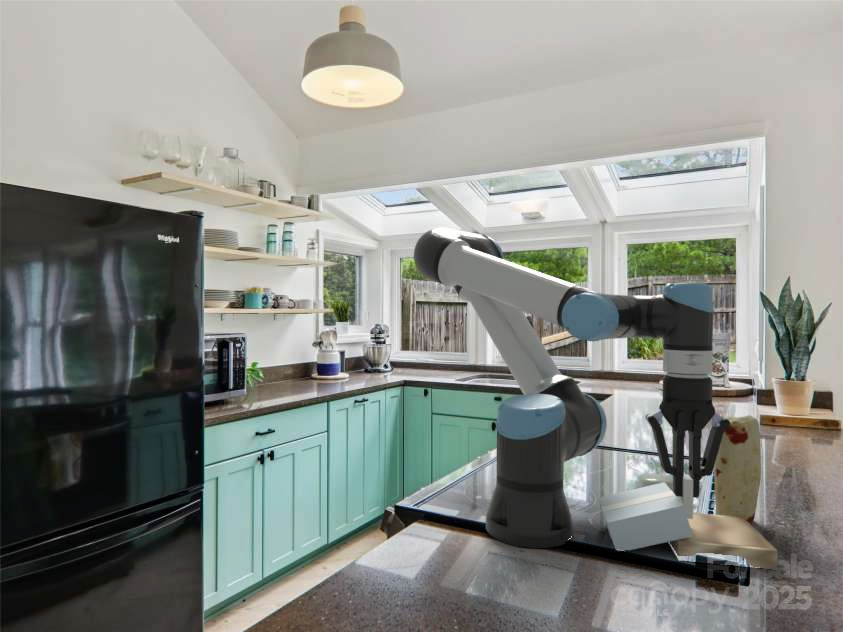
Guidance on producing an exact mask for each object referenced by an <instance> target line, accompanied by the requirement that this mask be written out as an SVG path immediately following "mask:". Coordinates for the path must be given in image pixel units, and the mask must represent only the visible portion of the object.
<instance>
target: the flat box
mask: <svg viewBox="0 0 843 632" xmlns="http://www.w3.org/2000/svg"><path fill="white" fill-rule="evenodd" d="M597 500H598V503H599V506H600V509H601V513H602V516H603V518H604V522H606V523H605V525H607V526H606V528H607V530H608V535H609V537H610V539H611V538H612V540H611V542H612V541H613V542H612V544H613V547H614V546H615V547H614V550H615V549H619V550H628V551H633V550H637V549H642V548H646V547H650V546H655V545H660V544H664V543H667V542H669V541H674V540H679V539H683V538H688V537H692V536H693V534H692V531H691V528H690V525H689V522H688V519H687V516H686V512H685V509H684V506H683V505H682V503H681V502H680V501H679V497H678V496H676V495H675V494H674V493H673V491H672V490H670V488H669V487H668V486H667V485H666V483H665V482H663V483H659V484H655V485H650V486H646V487H642V488H639V487H637V488H634V489H630V490H625V491H622V492H616V493H613V494H609V495H605V496H600V497H597Z"/></svg>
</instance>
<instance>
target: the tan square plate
mask: <svg viewBox="0 0 843 632" xmlns="http://www.w3.org/2000/svg"><path fill="white" fill-rule="evenodd" d="M688 522H689V525H690V528H691V531H692V534H693V536H692V537H688V538H683V539H679V540H674V541H669V542H670V544H671V545H672V547H673V548H674V550H675V551H676V553H677V555H678V556H685V557H686V556H693V555H695V554H696V553H714V554H722V555H733V556H740V557H742V558H745V559H746V560H747V562H748V563H749V564H750V565H751V566H753V567H758V568H759V567H760V568H765V569H764V570H767V569H774V570H773V571H778V550H777V549H776V547H774V546H773V545H772V544H771V543H770V542H769V540H767V539H766V538H765V537H764V536H763V535H762V534H761V533H760V532H759V531H758V530H757V529H756V528H755V527H754V526H752V524H751V523H748V522H747V521H746V520H745V519H744V518H743V517H737V516H724V515H717V514H712V513H711V514H708V513H697V512H695V513H694V512H693V519H688Z"/></svg>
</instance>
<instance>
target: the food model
mask: <svg viewBox="0 0 843 632" xmlns="http://www.w3.org/2000/svg"><path fill="white" fill-rule="evenodd" d="M724 418H726V419H728V420H729V421H730V425H729V426H728V428H727V429H726V430H725V432H724V433H723V436H722V440H721V443H720V447H719V451H718V454H717V458H716V461H715V465H714V469H713V475H714V477H713V480H714V502H715V503H714V504H715V515H724V516H737V517H743V518H744V519H745V520H746V521H747V522H748V523H749V524H751V523H753V522H754V520H755V515H756V511H757V506H758V498H759V492H760V485H761V476H762V463H761V462H762V460H761V459H762V456H761V452H762V451H761V432H760V429H761V428H760V423H759V421H758V419H757V418H756V417H755V416H752V415H745V416H741V417H740V416H739V417H731V416H726V417H725V416H724Z"/></svg>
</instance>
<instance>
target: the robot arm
mask: <svg viewBox="0 0 843 632" xmlns="http://www.w3.org/2000/svg"><path fill="white" fill-rule="evenodd" d="M413 260H414V264H415V267H416V269H417V271H418V272H419V273H420V274H421V275H422V276H423V277H424V278H425V279H427V280H429V281H433V282H435V283H439V284H441V285H443V286H445V287H449V288H452V287H453V288H454V290H455V292H456V293H457V296H458V297H459V299H460V300H462V301H463V302H469V303H470V304H471V306H472V308H473V310H474V311H475V312H476V315H477V316H478V318H479V320H480V321H481V323H482V325H483V327H484V329H485V330H486V332H487V334H488V335H489V337H490V338H491V340H492V342H493V344H494V346H495V348H496V349H497V350H498V352H499V354H500V356H501V358H502V359H503V361H504V362H505V365H506V367H507V368H508V370H509V372H510V373H511V376H512V377H513V379H514V380H515V382H516V384H517V386H518V387H519V389H520V390H521V392H522V394H519V395H513V396H509V397H508V398H505V399H504V400H503V401H501V402H500V403H499V405H498V409H497V419H496V421H495V426H496V482H495V483H496V484H495V488H494V491H493V493H492V496H491V500H490V502H489V505H488V509H487V511H486V515H485V529H486V532H487V533H488V534H489V535H490V536H491V537H493V538H495V540H498V541H500V542H502V543H505V544H508V545H512V546H516V547H522V548H530V549H546V548H547V549H548V548H555V547H560V546H563V545H565V544H566V543H565V542H566V541H567V540H568V539H569V538H571V536H572V535H573V536H574V520H573V516H572V514H571V511H570V507H569V503H568V501H567V497H566V494H565V490H564V472H565V471H564V468H565V465H564V464H565V462H567V461H570V460H572V459H574V458H577V457H583V456H586V455H588V453H590V452H591V451H593V450H595V449H596V448H597V447H598V446H599V445H600V444H601V443H602V442H603V440H604V438H605V436H606V432H607V426H608V423H607V415H606V413H605V410H604V408H603V406H602V405H601V403H600V402H599V401H598V400H597V399H596V398H595V397H593V396H591V395H589V394H587V393H585V392H583V391H582V390H581V389H580V387H579V385H578V384H577V381H575V379H574V378H573V377H572V376H568V375H564V374H562V373H561V371H560V369H559V368H558V366H557V365H556V363H555V362H554V360H553V358H552V357H551V355H550V354H549V352H548V350H547V349H546V347H545V345H544V343H543V342H542V341H541V339H540V337H539V336H538V334H537V333H536V331H535V330H534V328H533V326H532V324H531V322H530V321H529V320H528V318H527V316H526V315H525V313H527V314H530V315H531V316H534V317H537V318H539V319H542V320H544V321H547V322H549V323H552V324H554V325H557V326H559V327H561V328H564V329H565V330H566V331H567V333H568V335H571V336H572V337H573V338H575V339H578V340H581V341H588V342H599V341H603V340H612V339H614V340H615V339H631V338H632V339H633V338H634V339H635V338H636V339H657V340H659V339H662V343H663V344H662V371H663V372H664V373H666V374H665V375H664V376H663V377H662V400H661V403H660V404H659V407H658V408H659V409H657V410H655V411H654V412H652V413H647V414H646V415H645V420H646V421H647V423H648V424H649V426H650V427H651V431H652V433H653V438H654V442H655V447H656V449H657V450H656V451H657V455H658V458H659V462H660V467H661V469H662V470H663V471H664V472H665V473H666V474H669V475H672V478H673V492H674V494H675V495H676V497H678V500H679V501H680V502H681V503H682V505H683V506H684V509H685V512H686V516H687V519H693V513H694V498H699V497H700V483H701V482H700V481H701V480H702V479H703V477H706V476H707V477H709V476H712V474H713V473H714V465H715V461H716V458H717V454H718V451H719V447H720V443H721V440H722V436H723V433H724V432H725V430H726V429H727V428H728V426H729V425H730V421H729V420H728V419H726V418H725V416H722V415H720V414H718V413H717V412H716V408H715V406H714V404H713V379H712V378H711V377H709V375H712V374H713V357H714V356H713V354H714V353H713V352H714V351H713V350H714V349H713V348H714V347H713V339H714V336H713V335H714V313H715V309H714V300H713V296H714V295H713V288H712V286H710V284H708V283H705V282H673V283H666V284H665V285H664V287H663V292H662V294H658V295H657V294H656V295H625V294H623V295H622V294H611V293H609V294H608V293H607V294H606V293H602V292H598V291H596V290H592V289H590V288H587V287H584V286H580V285H579V284H574V283H572V282H569V281H566V280H563V279H560V278H558V277H557V278H556V277H554V276H551V275H549V274H546V273H542V272H540V271H537V270H534V269H532V268H528V267H525V266H522V265H519V264H517V263H514V262H510V261H507V260H505V255H504V252H503V250H502V247H501V246H500V244H499V243H498V242H497V241H496V240H495V239H493V238H492V237H490V236H488V235H485V234H483V233H480V232H475V231H474V232H471V231H470V232H469V231H464V230H459V229H454V228H451V227H450V228H449V227H436V228H433V229H429V230H428V231H426V232H424V233H423V234H422V235H421V236H420V237H419V238H418V240H417V241H416V243H415V247H414V250H413ZM663 417H664V419H665V420H666V422H667V423H668V425H669V426H670V427H671V433H672V459H670V456H669V450H668V446H667V442H666V438H665V435H664V430H663V428H662V424H663V423H664V421H663ZM709 422H710V425H711V428H710V430H709V434H708V438H707V439H706V445H705V448H704V452H703V455H702V453H701V451H702V449H701V448H702V443H701V442H702V437H703V429H704V428H705V427H706V426H707V425H708V423H709ZM686 432H687V433H688V473H689V474H685V437H686ZM701 456H702V459H701ZM671 460H672V463H671Z"/></svg>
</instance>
